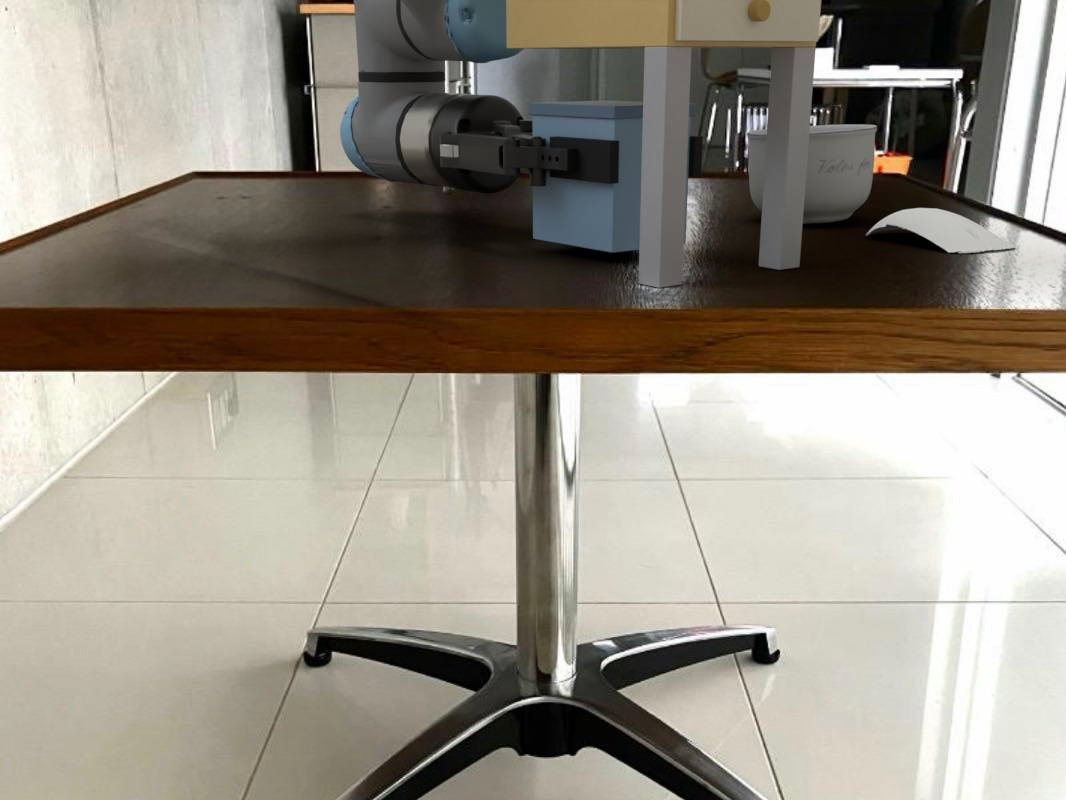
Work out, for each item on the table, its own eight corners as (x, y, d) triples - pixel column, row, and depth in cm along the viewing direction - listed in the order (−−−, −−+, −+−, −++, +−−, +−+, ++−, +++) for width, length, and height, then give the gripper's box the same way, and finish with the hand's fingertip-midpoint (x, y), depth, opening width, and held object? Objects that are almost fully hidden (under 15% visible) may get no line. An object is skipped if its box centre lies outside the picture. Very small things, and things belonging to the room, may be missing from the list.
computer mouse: (957, 254, 88) (961, 221, 87) (850, 235, 98) (853, 205, 98) (1026, 248, 91) (1031, 216, 90) (915, 230, 101) (918, 201, 100)
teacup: (831, 232, 100) (839, 129, 97) (718, 222, 106) (723, 125, 103) (905, 216, 110) (915, 122, 107) (798, 208, 116) (805, 119, 113)
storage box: (528, 238, 90) (528, 102, 87) (604, 230, 95) (607, 100, 91) (611, 253, 83) (614, 106, 80) (690, 244, 88) (695, 103, 84)
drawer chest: (508, 257, 88) (504, -83, 80) (643, 241, 95) (652, -72, 87) (674, 291, 75) (689, -111, 67) (815, 270, 82) (844, -95, 74)
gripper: (561, 183, 107) (755, 205, 90) (363, 198, 96) (542, 227, 79) (561, 92, 104) (761, 97, 87) (357, 96, 93) (541, 104, 76)
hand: (657, 159), depth 83 cm, fingers closed on storage box, 7 cm apart
